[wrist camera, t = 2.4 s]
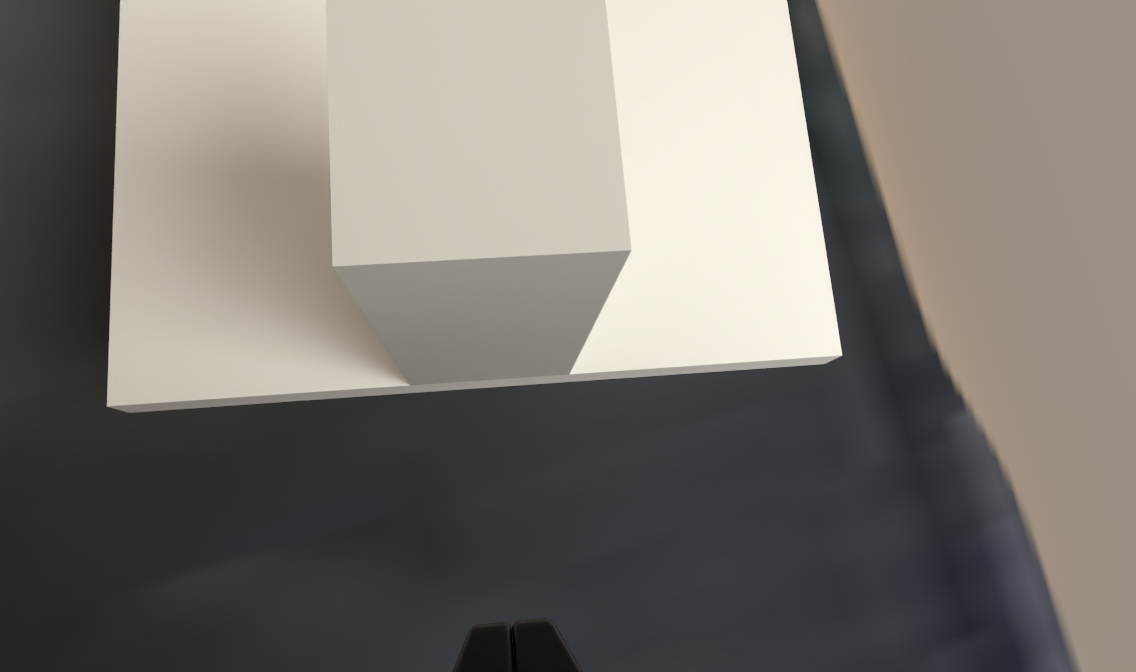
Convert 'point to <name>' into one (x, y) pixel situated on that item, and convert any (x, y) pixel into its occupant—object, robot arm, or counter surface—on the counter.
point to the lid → (457, 197)
